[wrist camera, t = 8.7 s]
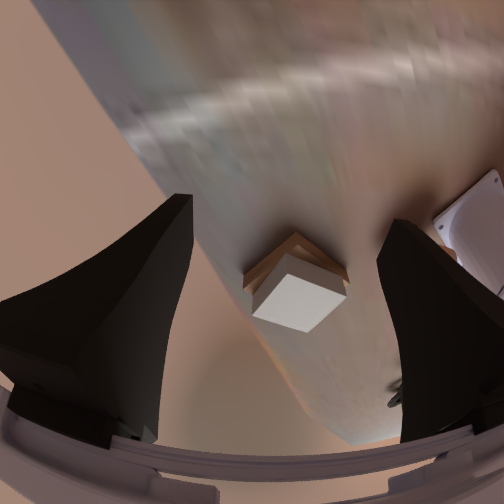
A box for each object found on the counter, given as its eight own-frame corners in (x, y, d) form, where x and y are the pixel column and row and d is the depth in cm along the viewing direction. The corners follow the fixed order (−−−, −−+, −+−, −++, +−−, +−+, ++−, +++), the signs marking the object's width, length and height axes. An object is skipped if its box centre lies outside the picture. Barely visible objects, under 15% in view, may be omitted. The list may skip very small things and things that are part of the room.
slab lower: (345, 266, 26) (349, 284, 25) (294, 302, 30) (296, 319, 28) (295, 227, 24) (297, 244, 22) (243, 271, 27) (242, 289, 25)
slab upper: (342, 276, 24) (346, 296, 22) (305, 313, 27) (307, 332, 26) (285, 252, 22) (287, 273, 21) (252, 295, 26) (251, 315, 24)
